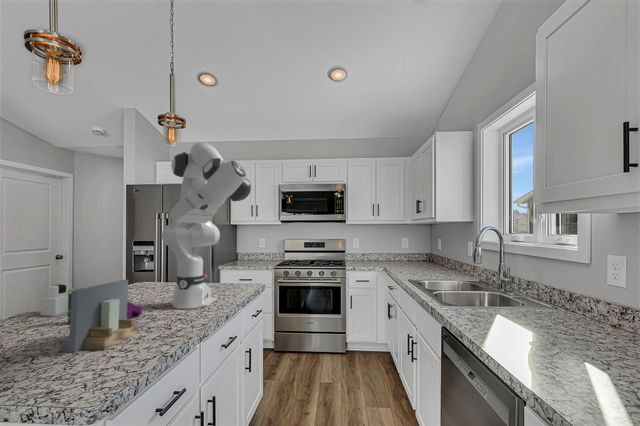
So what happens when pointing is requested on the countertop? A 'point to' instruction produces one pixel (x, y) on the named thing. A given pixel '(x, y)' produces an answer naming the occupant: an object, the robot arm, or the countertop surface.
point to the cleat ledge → (110, 335)
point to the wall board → (92, 310)
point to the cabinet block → (110, 314)
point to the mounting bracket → (132, 310)
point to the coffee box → (70, 304)
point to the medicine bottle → (55, 301)
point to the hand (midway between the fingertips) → (179, 229)
